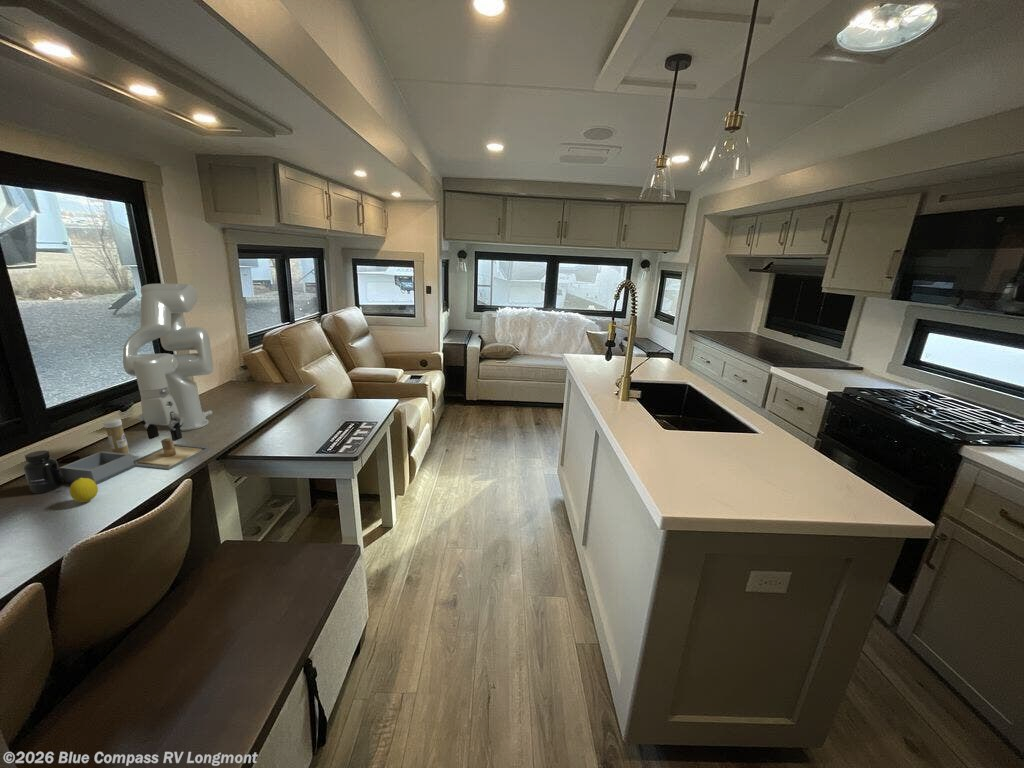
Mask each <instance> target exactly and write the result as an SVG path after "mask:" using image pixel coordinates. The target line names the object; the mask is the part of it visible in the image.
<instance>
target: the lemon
mask: <svg viewBox="0 0 1024 768" xmlns="http://www.w3.org/2000/svg"><path fill="white" fill-rule="evenodd" d="M98 492H99V488H98V484H97V485H96V483H95V482H94V481H93V480H92V479H89V478H79V479H78V480H76V481H74V482H73V483H72V482H71V484H70V487H69V494H70V497H71V498H72V499H73V500H74V501H76V502H81V503H82V502H83V503H89V502H90V501H91V500H93V499H94V498H95V497H96V496H97V494H98Z"/></svg>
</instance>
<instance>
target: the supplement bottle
mask: <svg viewBox="0 0 1024 768" xmlns="http://www.w3.org/2000/svg"><path fill="white" fill-rule="evenodd" d="M24 458H25V462H26V463H25V464H24V465H23V467H22V469H23V472H24V475H25V478H26V480H27V483H28V486H29V489H30V492H32V493H33V494H46V493H49V492H53V491H55V490H58V489H59V488H61V487H62V486H63V485H64V480H63V477H62V474H61V472H60V469H59V468H60V466H59V463H58V460H57V459H56V458H53V457H51V454H50V451H49V450H47V449H45V450H44V449H42V450H37V451H32V452H29V453H27V454H25V455H24Z"/></svg>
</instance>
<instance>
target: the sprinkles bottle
mask: <svg viewBox="0 0 1024 768" xmlns="http://www.w3.org/2000/svg"><path fill="white" fill-rule="evenodd" d="M103 427H104V429H106V433H107V438H108V441H109V446H110V449H111V450H112V451H111V452H115V453H125V454H131V451H130V449H129V446H128V441H127V438H126V434H125V432H124V427H123V421H122V420H121V418H113V419H107V420H105V421H104V422H103Z"/></svg>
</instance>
